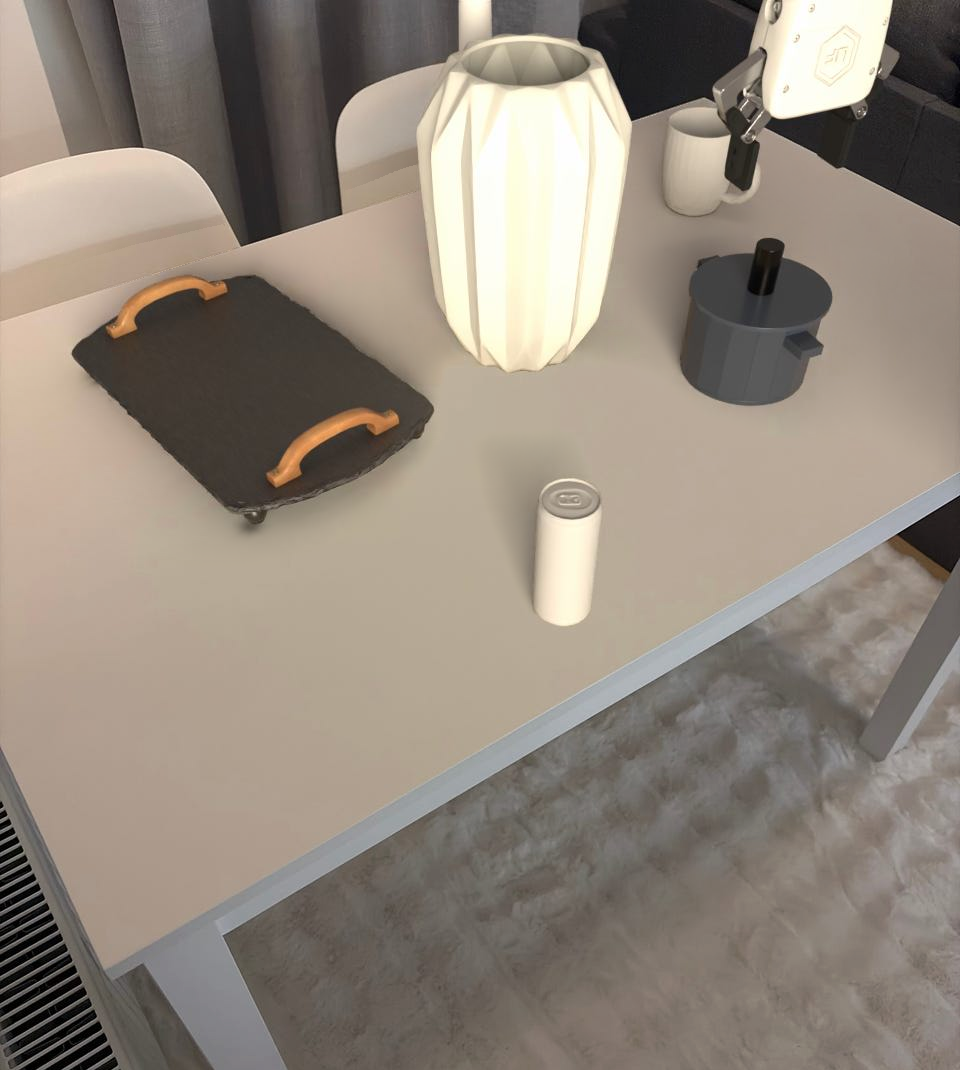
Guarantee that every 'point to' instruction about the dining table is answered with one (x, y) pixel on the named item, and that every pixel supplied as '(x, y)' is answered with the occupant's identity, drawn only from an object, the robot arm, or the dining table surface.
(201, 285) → the serving tray
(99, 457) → the dining table surface
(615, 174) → the vase
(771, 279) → the lid
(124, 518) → the dining table surface
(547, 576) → the beverage can
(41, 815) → the dining table surface
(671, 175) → the mug
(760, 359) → the pot
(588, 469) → the dining table surface
